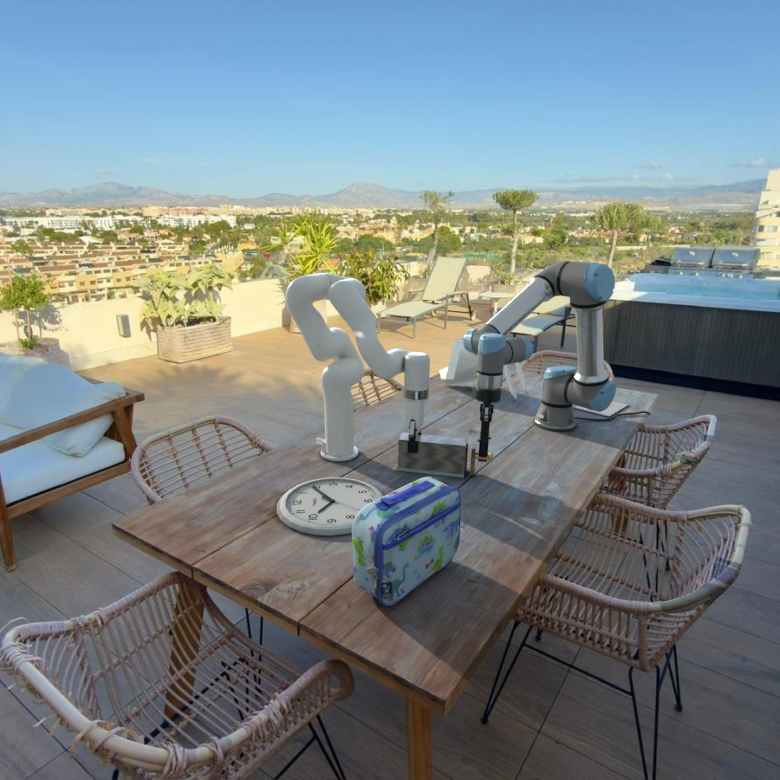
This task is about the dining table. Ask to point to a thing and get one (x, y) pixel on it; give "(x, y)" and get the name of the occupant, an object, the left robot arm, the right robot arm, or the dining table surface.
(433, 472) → the cabinet
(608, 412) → the invitation card
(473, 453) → the drawer
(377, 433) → the dining table surface
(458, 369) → the white plastic object
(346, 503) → the wall clock
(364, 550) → the lunch box
